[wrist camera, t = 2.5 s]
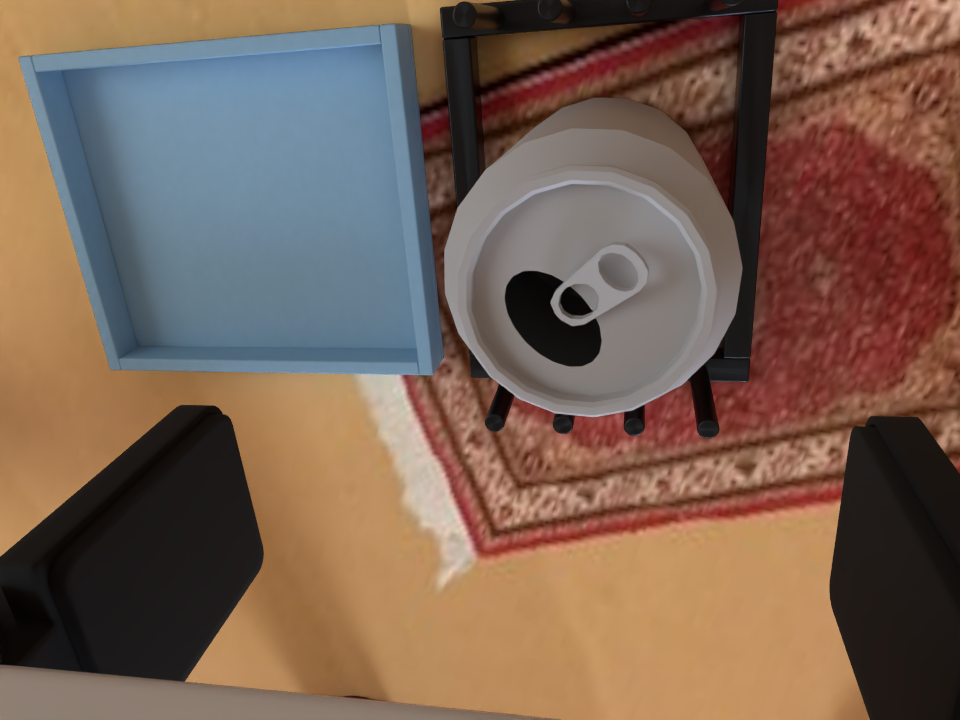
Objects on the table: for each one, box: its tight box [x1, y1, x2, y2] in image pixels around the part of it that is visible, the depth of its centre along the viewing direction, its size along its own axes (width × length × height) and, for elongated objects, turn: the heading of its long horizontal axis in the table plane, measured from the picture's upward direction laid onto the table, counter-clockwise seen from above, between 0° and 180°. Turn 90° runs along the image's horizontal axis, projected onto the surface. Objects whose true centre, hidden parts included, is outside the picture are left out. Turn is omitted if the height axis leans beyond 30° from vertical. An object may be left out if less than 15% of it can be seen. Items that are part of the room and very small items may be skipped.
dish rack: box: [440, 0, 778, 438], centre depth 25 cm, size 11×14×6 cm
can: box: [444, 98, 743, 417], centre depth 22 cm, size 8×8×12 cm
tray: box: [19, 23, 444, 375], centre depth 30 cm, size 15×13×2 cm
